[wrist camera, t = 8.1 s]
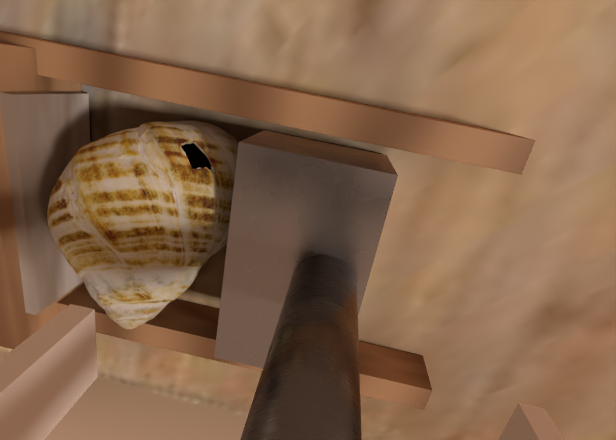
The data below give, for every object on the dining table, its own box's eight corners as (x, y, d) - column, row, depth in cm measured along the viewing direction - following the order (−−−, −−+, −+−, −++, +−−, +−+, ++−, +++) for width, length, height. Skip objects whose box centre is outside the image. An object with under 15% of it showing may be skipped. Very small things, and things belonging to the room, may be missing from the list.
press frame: (38, 286, 26) (-48, 339, 20) (12, 33, 20) (-120, 11, 14) (415, 373, 25) (434, 455, 19) (508, 133, 19) (574, 151, 13)
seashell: (253, 96, 19) (202, 240, 12) (266, 217, 26) (239, 351, 20) (70, 87, 20) (-76, 221, 13) (132, 209, 27) (60, 337, 20)
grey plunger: (240, 306, 24) (91, 596, 10) (264, 130, 20) (67, 221, 6) (340, 328, 24) (325, 659, 10) (386, 155, 20) (471, 311, 6)
